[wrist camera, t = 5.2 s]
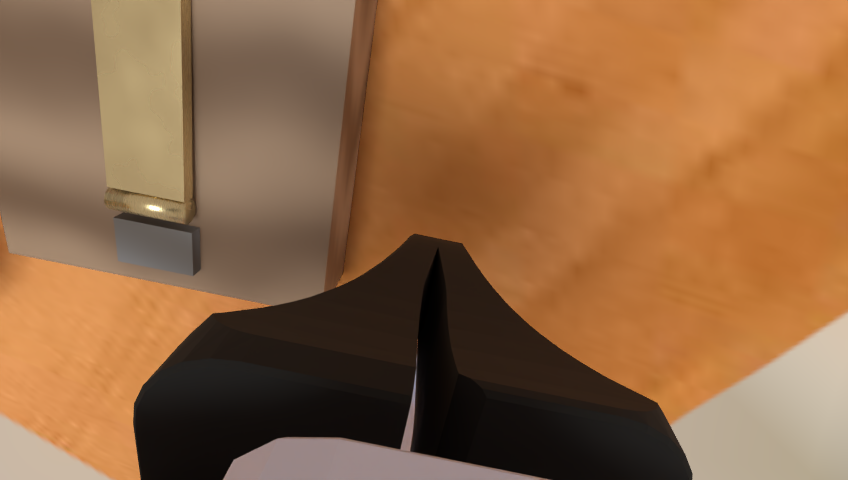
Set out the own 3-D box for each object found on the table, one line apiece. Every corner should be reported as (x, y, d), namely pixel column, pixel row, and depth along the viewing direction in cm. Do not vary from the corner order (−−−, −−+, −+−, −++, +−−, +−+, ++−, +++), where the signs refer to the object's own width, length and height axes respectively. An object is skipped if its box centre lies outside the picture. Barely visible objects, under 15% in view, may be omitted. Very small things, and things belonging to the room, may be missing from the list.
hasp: (195, 219, 18) (181, 228, 17) (123, 205, 18) (105, 212, 17) (193, -104, 14) (174, -115, 13) (99, -123, 14) (73, -136, 13)
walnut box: (342, 272, 23) (308, 339, 18) (79, 220, 23) (-33, 271, 18) (397, -159, 16) (366, -259, 11) (14, -239, 16) (-207, -379, 11)
